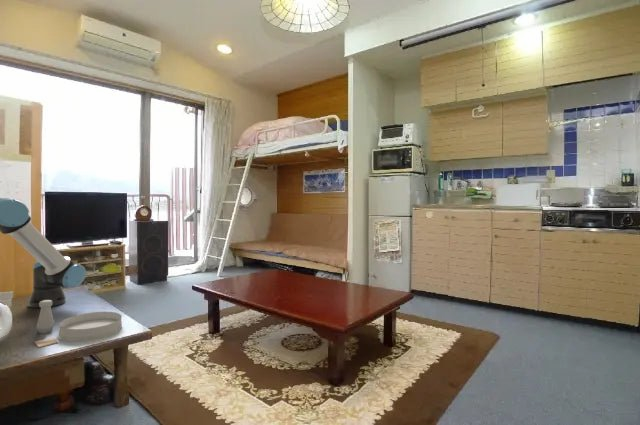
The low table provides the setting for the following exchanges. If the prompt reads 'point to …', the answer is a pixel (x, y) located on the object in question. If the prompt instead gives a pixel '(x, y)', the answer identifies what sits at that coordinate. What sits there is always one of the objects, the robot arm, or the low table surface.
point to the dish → (90, 326)
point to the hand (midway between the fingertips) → (12, 298)
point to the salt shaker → (45, 317)
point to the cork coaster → (46, 342)
